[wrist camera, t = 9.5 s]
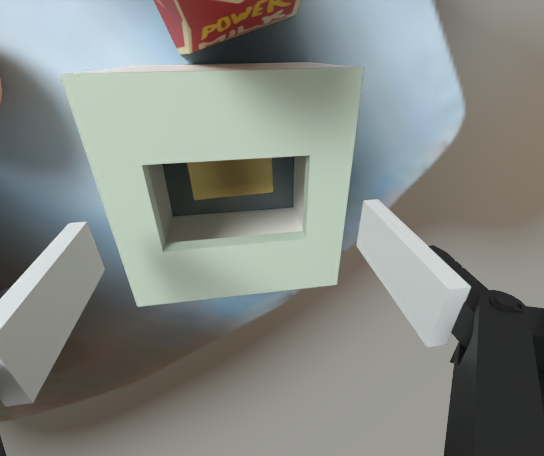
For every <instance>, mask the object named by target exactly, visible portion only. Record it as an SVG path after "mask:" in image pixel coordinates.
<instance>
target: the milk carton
mask: <svg viewBox="0 0 544 456" xmlns="http://www.w3.org/2000/svg"><path fill="white" fill-rule="evenodd" d="M154 2H155V4H156V6H157V8H158V10H159V12H160V14H161V17H162V19H163V21H164V23H165V25H166V27H167V29H168V31H169V33H170V35H171V37H172V39H173V41H174V44H175V46H176V48H177V50H178V52H179V54H190V53H192V52H195V51H198V50H201V49H204V48H207V47H209V46H212V45H215V44H218V43H221V42H224V41H226V40H229V39H232V38H235V37H238V36H240V35H243V34H246V33H249V32H251V31H254V30H257V29H259V28H262V27H265V26H268V25H270V24H273V23H276V22H278V21H281V20H284V19H287V18H289V17H292V16H295V15H296V13H297V11H298V8H299V6H300V3H301V0H154Z"/></svg>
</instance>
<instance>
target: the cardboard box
mask: <svg viewBox="0 0 544 456" xmlns="http://www.w3.org/2000/svg"><path fill="white" fill-rule="evenodd" d="M187 166H188V171H189V176H190V181H191V186H192V191H193V196H194V200H202V199H212V198H222V197H232V196H242V195H252V194H262V193H272V192H273V174H272V158H256V159H238V160H221V161H204V162H187Z"/></svg>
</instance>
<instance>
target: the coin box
mask: <svg viewBox="0 0 544 456" xmlns="http://www.w3.org/2000/svg"><path fill="white" fill-rule="evenodd" d="M363 72H364V67H354V66H344V65H334V64H324V63H313V62H288V63H240V64H193V65H145V66H123V67H115V68H107V69H100V70H92V71H84V72H76V73H69V74H61V75H60V78H61V81H62V84H63V87H64V90H65V93H66V96H67V99H68V101H69V104H70V107H71V110H72V113H73V116H74V119H75V122H76V125H77V128H78V131H79V134H80V137H81V140H82V143H83V146H84V149H85V152H86V155H87V158H88V161H89V164H90V167H91V170H92V173H93V176H94V179H95V182H96V185H97V188H98V191H99V194H100V197H101V200H102V203H103V206H104V209H105V212H106V215H107V218H108V221H109V224H110V227H111V230H112V233H113V236H114V239H115V242H116V245H117V248H118V250H119V253H120V256H121V259H122V262H123V265H124V268H125V271H126V274H127V277H128V280H129V283H130V286H131V289H132V292H133V295H134V298H135V301H136V304H137V307H140V306H149V305H158V304H167V303H177V302H186V301H195V300H204V299H213V298H222V297H231V296H240V295H249V294H258V293H267V292H276V291H285V290H294V289H303V288H313V287H322V286H330V285H337V279H338V271H339V264H340V256H341V248H342V240H343V232H344V224H345V216H346V208H347V200H348V192H349V184H350V176H351V168H352V160H353V152H354V144H355V136H356V128H357V120H358V112H359V104H360V96H361V88H362V80H363ZM290 156H294V196H293V207H290V208H278V209H265V210H252V211H239V212H226V213H213V214H201V215H188V216H175V217H173V214H172V209H171V205H170V200H169V195H168V190H167V185H166V181H165V176H164V171H163V166H162V164H169V163H187V162H204V161H221V160H238V159H256V158H273V157H290Z"/></svg>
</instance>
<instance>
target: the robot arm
mask: <svg viewBox="0 0 544 456" xmlns="http://www.w3.org/2000/svg"><path fill="white" fill-rule="evenodd" d="M356 246H357V247H358V249H359V250H360V252H361V253H362V254H363V256H364V257H365V259H366V260H367V262H368V263H369V265H370V266H371V267H372V269H373V270H374V272H375V273H376V275H377V276H378V278H379V279H380V280H381V282H382V283H383V285H384V286H385V287H386V289H387V290H388V292H389V293H390V295H391V296H392V297H393V299H394V301H395V302H396V303H397V305H398V306H399V308H400V309H401V311H402V312H403V314H404V315H405V316H406V318H407V319H408V321H409V322H410V323H411V325H412V326H413V328H414V329H415V331H416V332H417V334H418V335H419V336H420V338H421V339H422V341H423V342H424V344H425V345H426V347H434V346H441V345H447V343H448V341H449V338H450V336H451V334H453V335H454V336H455V337H456V339H457V340H458V341H459V343H458V345H457V347H456V349H455V352H454V354H453V356H452V358H451V360H450V362H451V363H454V370H453V379H452V389H451V396H450V406H449V415H448V423H447V432H446V440H445V450H444V456H544V308H537V307H528V306H525V305H524V304H523V303H522V302H521V301H520V300H518V299H517V298H515V297H513V296H512V295H509V294H507V293H504V292H501V291H496V290H488V289H487V288H486V287H485V286H484V285H483V284H481V283H480V282H479V281H478V280H477V279H476V278H475V277H474V276H472V275H471V274H470V273H469V272H468V271H467V270H466V269H464V268H462V266H461V265H460V264H459V263H458V262H456V261H455V260H454V259H453V258H452V257H451V256H450V255H449V254H448V253H446V252H445V251H443V250H441V249H439V248H437V247H435V246H427V245H426V244H425V243H424V242H423V241H422V240H421V239H420V238H418V236H416V235H415V234H414V233H413V232H412V231H411V230H410V229H409V228H408V227H407V226H406V225H405V224H404V223H403V222H402V221H401V220H399V219H398V218H397V217H396V216H395V215H394V214H393V213H392V212H391V211H390V210H389V209H388V208H387V207H386V206H385V205H383V204H382V203H381V202H380V201H379V200H378V199H375V200H363V207H362V213H361V219H360V226H359V232H358V239H357V245H356ZM104 271H105V268H104V265H103V263H102V260H101V257H100V255H99V252H98V249H97V247H96V244H95V242H94V239H93V236H92V234H91V231H90V228H89V226H88V223H87V222H77V223H69V224H68V225H67V226H66V227H65V228H64V229H63V230H62V231H61V232H60V234H59V235H58V236H57V237H56V238H55V239H54V240H53V241H52V242H51V243H50V245H49V246H48V247H47V248H46V249H45V250H44V251H43V252H42V253H41V255H40V256H39V257H38V258H37V259H36V260H35V261H34V262H33V263H32V264H31V266H30V267H29V268H28V269H27V270H26V271H25V272H24V273H23V274H22V275H21V277H20V278H19V279H18V280H17V281H16V282H15V283H14V284H13V285H12V287H11V288H5V289H3V290H2V291H0V400H1V401H2V402H3V404H4V405H5V406H6V407H7V406H14V405H21V404H28V403H33V402H34V400H35V398H36V396H37V394H38V393H39V391H40V389H41V387H42V385H43V383H44V382H45V380H46V378H47V376H48V374H49V372H50V371H51V369H52V367H53V365H54V363H55V361H56V359H57V358H58V356H59V354H60V352H61V350H62V348H63V347H64V345H65V343H66V341H67V339H68V337H69V336H70V334H71V332H72V330H73V328H74V326H75V324H76V323H77V321H78V319H79V317H80V315H81V313H82V312H83V310H84V308H85V306H86V304H87V302H88V301H89V299H90V297H91V295H92V293H93V291H94V290H95V288H96V286H97V284H98V282H99V280H100V278H101V277H102V275H103V273H104ZM0 456H6V453H5V450H4V447H3V443H2V440H1V437H0Z"/></svg>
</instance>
